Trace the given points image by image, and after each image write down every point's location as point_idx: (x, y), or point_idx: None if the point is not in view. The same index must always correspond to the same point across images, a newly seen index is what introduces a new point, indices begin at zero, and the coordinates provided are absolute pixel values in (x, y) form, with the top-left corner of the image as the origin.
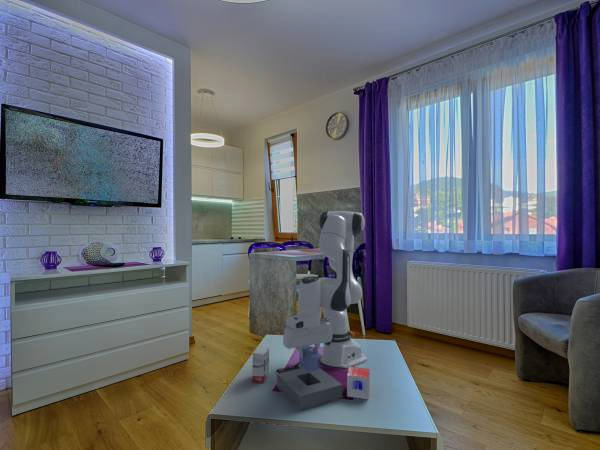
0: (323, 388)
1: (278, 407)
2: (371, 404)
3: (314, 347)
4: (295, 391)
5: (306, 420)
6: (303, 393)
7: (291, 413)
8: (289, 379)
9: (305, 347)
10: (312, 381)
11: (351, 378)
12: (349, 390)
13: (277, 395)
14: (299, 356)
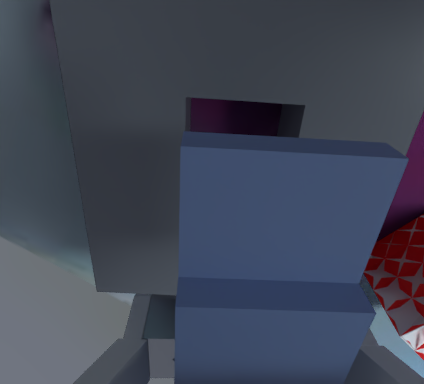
0: None
1: (37, 186)
2: (372, 323)
3: (384, 375)
4: (93, 253)
5: (115, 292)
6: (124, 282)
7: (79, 242)
8: (113, 123)
9: (244, 366)
10: (286, 135)
11: (416, 317)
12: (375, 273)
13: (60, 88)
14: (136, 294)
